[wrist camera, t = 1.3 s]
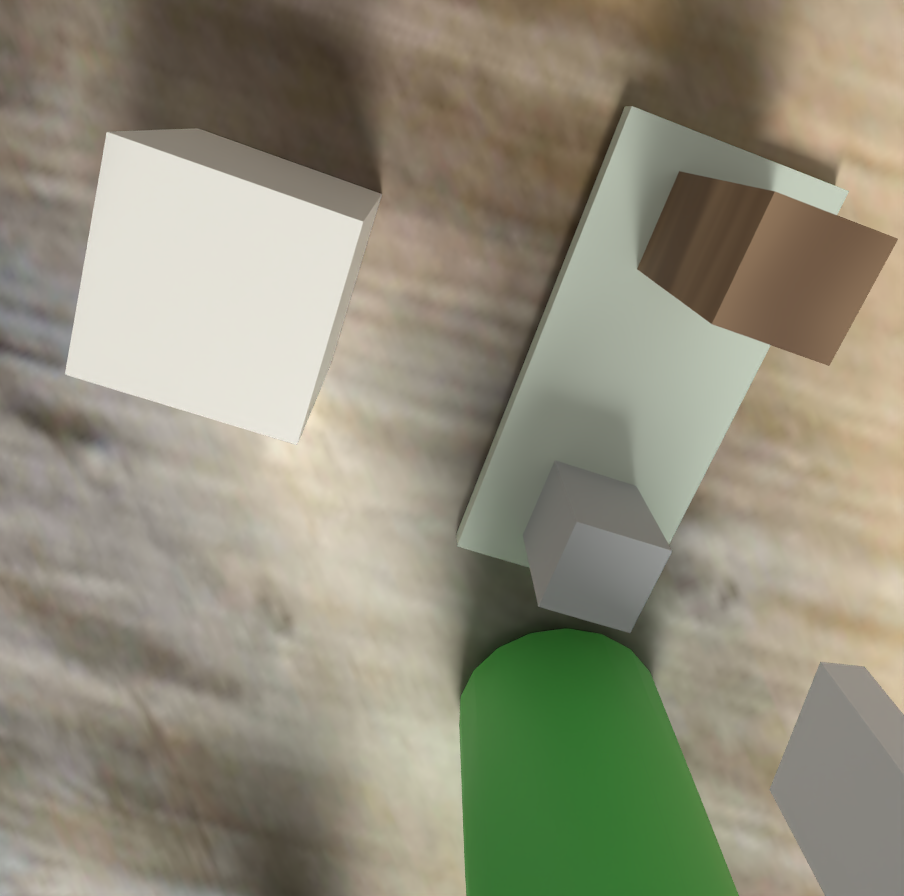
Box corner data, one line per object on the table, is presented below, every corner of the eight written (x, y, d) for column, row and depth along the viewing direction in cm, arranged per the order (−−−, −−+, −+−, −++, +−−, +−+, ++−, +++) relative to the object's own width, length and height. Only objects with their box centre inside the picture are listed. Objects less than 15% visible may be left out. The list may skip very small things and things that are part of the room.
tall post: (637, 269, 28) (711, 324, 20) (679, 171, 26) (774, 191, 19) (724, 301, 28) (829, 365, 21) (770, 206, 27) (898, 239, 19)
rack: (456, 534, 33) (461, 619, 27) (624, 106, 27) (675, 103, 21) (634, 587, 34) (674, 679, 28) (835, 188, 28) (936, 206, 22)
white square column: (159, 308, 29) (65, 374, 21) (197, 128, 26) (106, 131, 19) (330, 363, 30) (297, 445, 22) (382, 194, 27) (363, 221, 20)
